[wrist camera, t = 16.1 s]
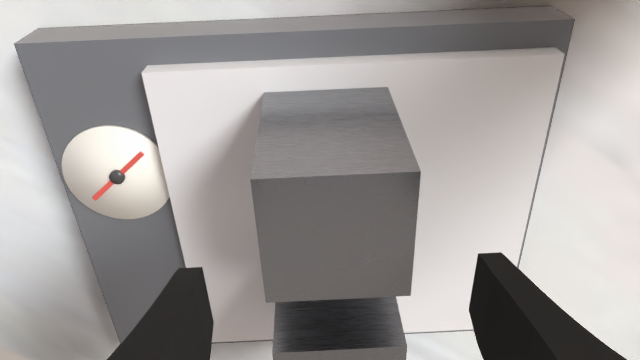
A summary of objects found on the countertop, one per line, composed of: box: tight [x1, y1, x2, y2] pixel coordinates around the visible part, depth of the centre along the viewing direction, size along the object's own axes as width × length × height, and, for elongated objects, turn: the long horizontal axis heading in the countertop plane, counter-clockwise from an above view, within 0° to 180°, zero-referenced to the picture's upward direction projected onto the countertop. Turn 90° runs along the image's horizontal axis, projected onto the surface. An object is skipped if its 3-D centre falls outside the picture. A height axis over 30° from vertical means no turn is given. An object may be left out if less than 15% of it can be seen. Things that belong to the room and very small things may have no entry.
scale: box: [14, 6, 575, 344], centre depth 23 cm, size 20×16×3 cm
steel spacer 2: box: [272, 297, 407, 360], centre depth 21 cm, size 4×4×6 cm
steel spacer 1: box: [250, 87, 421, 303], centre depth 17 cm, size 4×4×6 cm
